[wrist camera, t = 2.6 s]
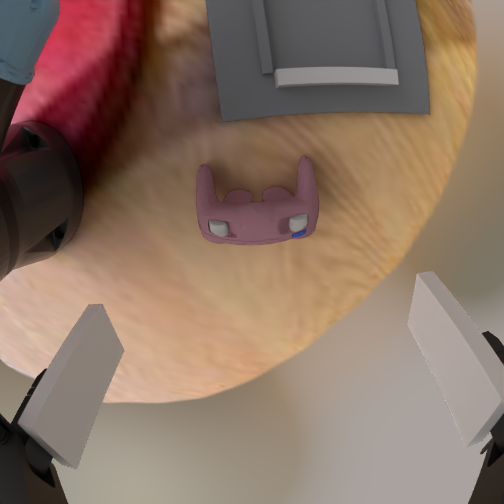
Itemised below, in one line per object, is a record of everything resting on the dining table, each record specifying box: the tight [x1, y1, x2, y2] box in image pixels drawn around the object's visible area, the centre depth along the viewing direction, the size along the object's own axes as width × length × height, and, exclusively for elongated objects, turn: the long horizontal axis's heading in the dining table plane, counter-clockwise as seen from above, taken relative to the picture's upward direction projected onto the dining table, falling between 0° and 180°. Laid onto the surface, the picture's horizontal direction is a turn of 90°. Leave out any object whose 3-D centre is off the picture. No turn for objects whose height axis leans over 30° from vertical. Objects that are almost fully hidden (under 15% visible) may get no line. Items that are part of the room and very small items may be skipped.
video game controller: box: [196, 156, 319, 245], centre depth 24 cm, size 10×5×7 cm, turn 95°
